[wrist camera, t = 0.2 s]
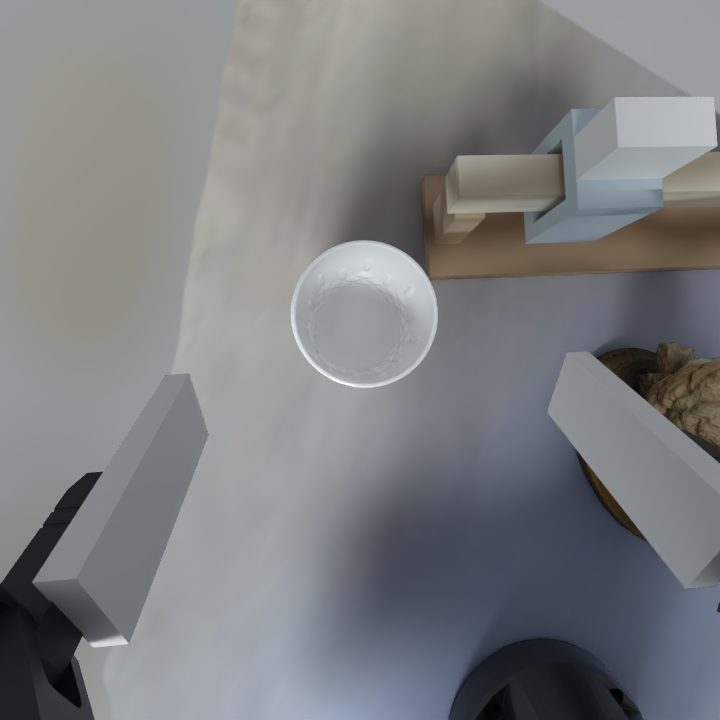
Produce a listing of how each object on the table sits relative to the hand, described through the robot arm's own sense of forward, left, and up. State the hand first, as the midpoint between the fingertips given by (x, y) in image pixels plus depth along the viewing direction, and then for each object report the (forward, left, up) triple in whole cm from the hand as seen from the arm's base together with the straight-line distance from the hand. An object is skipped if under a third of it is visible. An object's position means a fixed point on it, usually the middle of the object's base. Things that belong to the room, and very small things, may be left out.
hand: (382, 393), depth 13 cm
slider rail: (+12, -21, -16) cm, 29 cm away
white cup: (+4, 0, -16) cm, 17 cm away
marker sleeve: (+12, -15, -12) cm, 22 cm away
